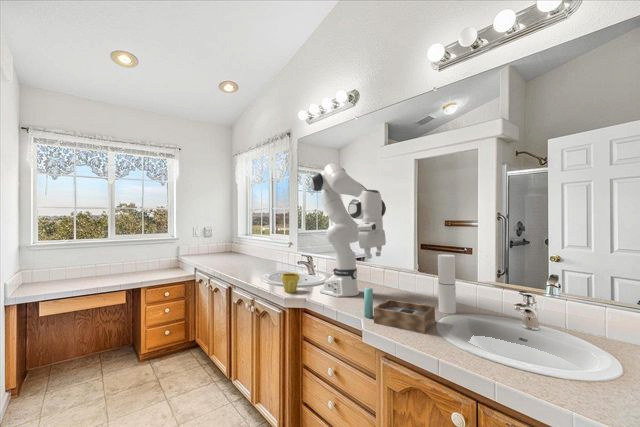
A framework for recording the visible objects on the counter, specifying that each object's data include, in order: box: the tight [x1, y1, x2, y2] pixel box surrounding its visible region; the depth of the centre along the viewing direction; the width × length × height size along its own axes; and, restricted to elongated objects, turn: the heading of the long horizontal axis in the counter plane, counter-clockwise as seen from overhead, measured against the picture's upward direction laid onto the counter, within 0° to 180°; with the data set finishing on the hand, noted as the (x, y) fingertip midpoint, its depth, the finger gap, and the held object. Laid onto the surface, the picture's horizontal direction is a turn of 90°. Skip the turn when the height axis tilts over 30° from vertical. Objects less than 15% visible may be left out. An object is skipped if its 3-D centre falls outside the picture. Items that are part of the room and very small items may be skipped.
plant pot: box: [281, 272, 300, 294], centre depth 176 cm, size 10×10×10 cm
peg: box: [363, 287, 374, 319], centre depth 129 cm, size 4×4×12 cm
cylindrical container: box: [437, 254, 457, 315], centre depth 135 cm, size 7×7×25 cm
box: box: [373, 299, 436, 334], centre depth 122 cm, size 20×15×6 cm
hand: (373, 257), depth 132 cm, fingers open, 8 cm apart
